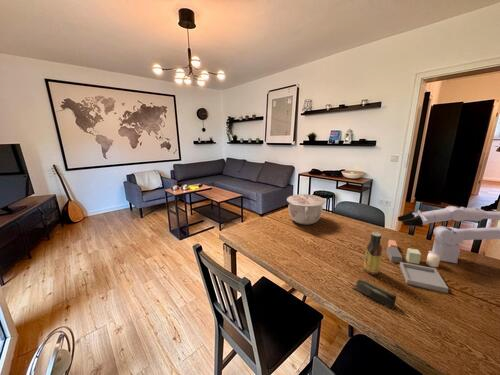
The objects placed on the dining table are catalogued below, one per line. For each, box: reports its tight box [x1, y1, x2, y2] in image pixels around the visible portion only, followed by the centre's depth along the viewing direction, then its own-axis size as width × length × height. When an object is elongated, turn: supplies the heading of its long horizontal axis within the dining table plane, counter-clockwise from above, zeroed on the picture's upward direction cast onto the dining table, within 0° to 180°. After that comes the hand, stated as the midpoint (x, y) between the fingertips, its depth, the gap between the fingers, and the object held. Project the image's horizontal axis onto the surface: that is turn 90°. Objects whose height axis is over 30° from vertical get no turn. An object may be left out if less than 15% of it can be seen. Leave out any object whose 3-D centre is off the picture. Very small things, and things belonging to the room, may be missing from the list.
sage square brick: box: [405, 247, 422, 265], centre depth 104 cm, size 4×4×6 cm
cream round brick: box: [425, 252, 441, 268], centre depth 101 cm, size 5×5×5 cm
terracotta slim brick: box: [387, 239, 398, 249], centre depth 116 cm, size 3×6×4 cm, turn 156°
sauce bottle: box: [363, 231, 383, 276], centre depth 96 cm, size 6×6×20 cm
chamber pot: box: [286, 193, 326, 225], centre depth 152 cm, size 28×28×21 cm
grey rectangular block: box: [385, 246, 403, 264], centre depth 108 cm, size 5×9×4 cm, turn 160°
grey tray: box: [399, 261, 449, 294], centre depth 92 cm, size 14×14×2 cm
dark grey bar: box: [351, 279, 397, 308], centre depth 83 cm, size 5×3×15 cm
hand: (400, 221), depth 108 cm, fingers open, 7 cm apart
